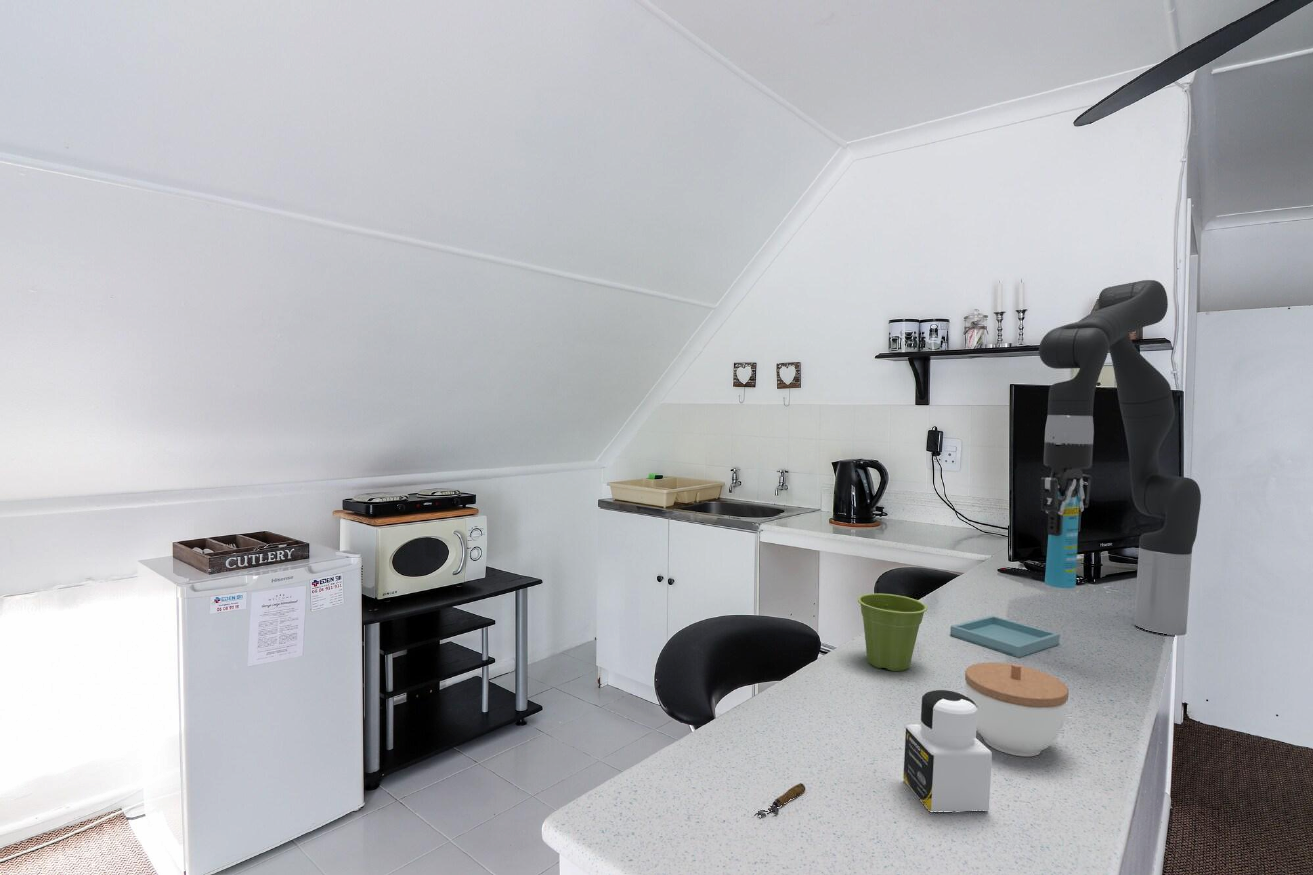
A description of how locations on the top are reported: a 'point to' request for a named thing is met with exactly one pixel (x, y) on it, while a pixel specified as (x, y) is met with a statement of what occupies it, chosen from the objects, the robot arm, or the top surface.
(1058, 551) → the tube
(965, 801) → the medicine bottle
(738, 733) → the top surface
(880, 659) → the plant pot
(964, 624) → the tray
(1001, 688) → the lidded bowl
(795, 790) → the can opener
